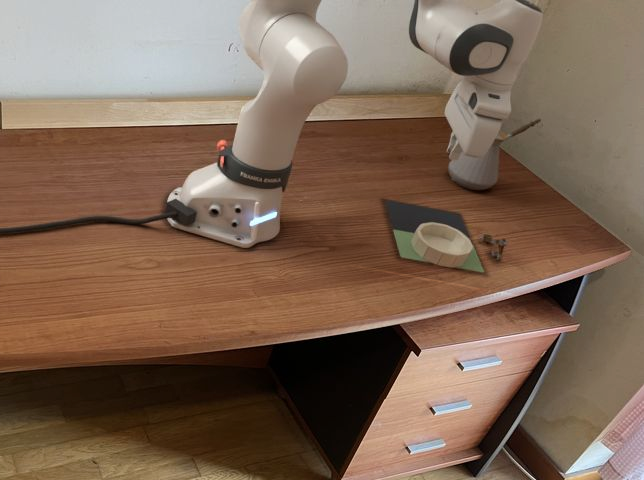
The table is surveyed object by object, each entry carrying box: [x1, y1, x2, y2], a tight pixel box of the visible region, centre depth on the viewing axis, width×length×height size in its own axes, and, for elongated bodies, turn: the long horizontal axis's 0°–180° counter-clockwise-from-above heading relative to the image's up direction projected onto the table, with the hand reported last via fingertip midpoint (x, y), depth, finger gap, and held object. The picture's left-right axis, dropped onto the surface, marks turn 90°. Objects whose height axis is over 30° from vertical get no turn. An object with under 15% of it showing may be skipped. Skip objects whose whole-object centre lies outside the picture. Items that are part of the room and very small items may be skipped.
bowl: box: [411, 222, 474, 269], centre depth 142 cm, size 11×11×3 cm
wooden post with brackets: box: [481, 233, 508, 262], centre depth 146 cm, size 2×8×4 cm, turn 1°
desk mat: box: [384, 199, 485, 273], centre depth 148 cm, size 17×22×1 cm
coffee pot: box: [448, 118, 544, 191], centre depth 166 cm, size 21×12×15 cm, turn 118°
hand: (451, 156), depth 143 cm, fingers closed
